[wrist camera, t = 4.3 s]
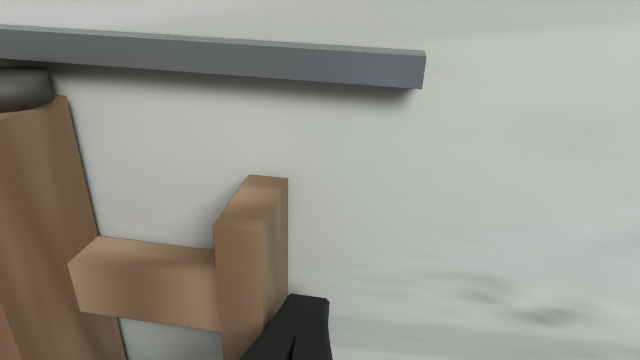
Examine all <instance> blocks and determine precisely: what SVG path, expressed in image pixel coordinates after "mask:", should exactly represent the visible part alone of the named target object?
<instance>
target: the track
mask: <svg viewBox="0 0 640 360" xmlns="http://www.w3.org/2000/svg"><path fill="white" fill-rule="evenodd" d="M0 58H3V59H17V60H30V61H44V62H58V63H71V64H85V65H99V66H112V67H126V68H140V69H154V70H167V71H181V72H195V73H208V74H222V75H236V76H249V77H263V78H277V79H290V80H304V81H318V82H332V83H345V84H359V85H373V86H386V87H400V88H414V89H422V84H423V77H424V70H425V63H426V54H425V51H418V50H402V49H386V48H370V47H354V46H338V45H322V44H306V43H290V42H274V41H258V40H242V39H226V38H210V37H194V36H178V35H162V34H146V33H130V32H114V31H98V30H82V29H66V28H50V27H34V26H18V25H2V24H0Z"/></svg>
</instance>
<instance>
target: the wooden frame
mask: <svg viewBox="0 0 640 360" xmlns="http://www.w3.org/2000/svg"><path fill="white" fill-rule="evenodd" d="M213 237H214V249H215V251H214V250H206V249H198V248H190V247H182V246H174V245H166V244H158V243H150V242H142V241H134V240H126V239H118V238H110V237H102V236H98V233H97V229H96V224H95V220H94V216H93V211H92V207H91V202H90V198H89V194H88V189H87V185H86V180H85V176H84V172H83V167H82V163H81V158H80V154H79V150H78V145H77V141H76V136H75V132H74V128H73V123H72V119H71V115H70V110H69V106H68V101H67V97H66V96H61V95H53V94H52V90H51V85H50V81H49V77H48V73H47V70H46V69H43V68H38V67H24V66H17V67H0V360H126V356H125V352H124V347H123V343H122V339H121V334H120V330H119V326H118V321H117V317H121V318H128V319H134V320H141V321H148V322H155V323H161V324H168V325H175V326H182V327H188V328H195V329H202V330H209V331H215V332H222V342H223V353H224V360H239V359H240V358H241V356H242V355H243V354H244V353H245V352H246V351H247V350H248V349H249V348H250V346H251V345H252V344H253V343H254V342H255V341H256V339H257V338H258V337H259V336H260V334H261V333H262V332H263V331H264V329H265V328H266V327H267V326H268V324H269V323H270V322H271V320H272V319H273V317H274V316H275V315H276V313H277V312H278V310H279V309H280V307H281V306H282V304H283V303H284V301H285V300H286V298H287V286H288V178H278V177H269V176H259V175H249V176H248V177H247V179H246V180H245V182H244V183H243V184H242V186H241V187H240V189H239V190H238V191H237V193H236V194H235V196H234V197H233V198H232V200H231V201H230V203H229V204H228V205H227V207H226V208H225V210H224V211H223V212H222V214H221V215H220V217H219V218H218V220H217V221H216V222H215V224H214V225H213Z"/></svg>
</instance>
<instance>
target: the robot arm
mask: <svg viewBox="0 0 640 360" xmlns="http://www.w3.org/2000/svg"><path fill="white" fill-rule="evenodd" d="M328 317H329V301H328V300H327V299H326V298H319V297H312V296H305V295H297V294H290V295H289V296H287V298H286V300H285V301H284V303H283V304H282V306H281V307H280V309H279V310H278V312H277V313H276V315H275V316H274V317H273V319H272V320H271V322H270V323H269V324H268V326H267V327H266V328H265V329H264V331H263V332H262V333H261V334H260V336H259V337H258V338H257V339H256V341H255V342H254V343H253V344H252V345H251V346H250V348H249V349H248V350H247V351H246V352H245V353H244V354H243V355H242V356H241V358H240V359H239V360H333V359H332V353H331V347H330V340H329V331H328Z"/></svg>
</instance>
